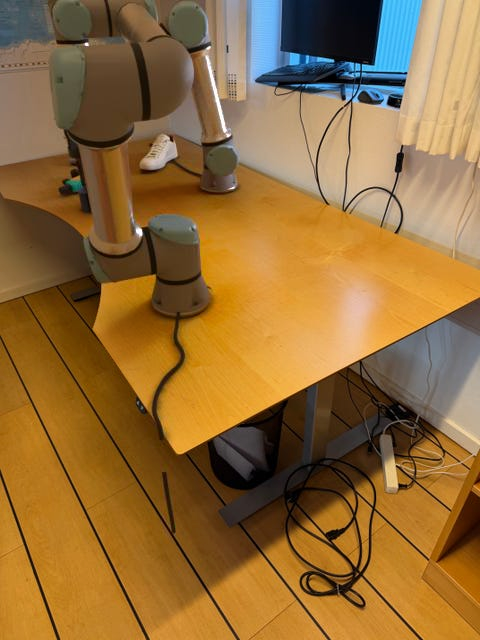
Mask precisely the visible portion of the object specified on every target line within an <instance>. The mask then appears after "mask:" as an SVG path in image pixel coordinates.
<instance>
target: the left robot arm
mask: <svg viewBox="0 0 480 640" xmlns="http://www.w3.org/2000/svg"><path fill="white" fill-rule="evenodd" d="M46 1H47V3H46V4H47V6H48V10H49V15H50V20H51V24H52V28H53V29H52V30H53V32H54V37H55V43H56V48H55V49H53V50H52V51H51V52H50V54H49V57H48V77H49V88H50V93H51V94H50V95H51V103H52V110H53V116H54V117H53V118H54V121H55V125H56V127H57V128H58V129H60V130H63V136H66V137H67V142H68V145H67V147H68V146H69V150H74V149H76V148H78V145H79V150H80V156H81V161H82V166H83V171H84V176H85V181H86V186H87V192H88V197H89V202H90V207H91V212H90V213H91V218H92V223H93V224H92V225H91V227H90V229H89V233H88V235H86V236H85V237H83V240H82V241H83V246H84V251H85V254H86V258H87V261H88V263H89V267H90V270H91V272H92V274H93V276H94V279H95V280H96V281H97V282H98V283H100V284H110V283H112V284H116V283H118V282H124V281H129V280H134V279H139V278H143V277H148V276H153V275H154V276H155V281H154V284H153V290H152V294H151V305H152V308H153V310H154V311H155V312H156V313H157V314H159V315H160V316H163V317H167V318H171V319H175V322H174V329H173V342H174V344H175V345H176V347H177V349H178V351H179V352H180V359H179V360H178V362H177V363H176V365H174V366H173V368H171V369H170V370H169V371H168V372H167V373H166V374H165V375H164V376H163V377H162V379H161V381H160V382H159V384H158V386H157V388H156V390H155V391H154V396H153V399H152V404H151V413H152V416H153V419H154V422H155V424H156V428H157V433H158V439H159V441H163V440H165V435H164V434H165V433H164V430H163V425H162V422H161V420H160V418H159V415H158V411H157V410H158V409H157V408H158V407H157V405H158V400H159V396H160V393H161V391H162V390H163V387H164V386H165V384H166V382H167V380H169V378H170V377H171V376H172V375H173V374H174V373H175V372H176V371H178V370H179V369H180V368H181V366H182V365H183V363H184V362H185V359H186V353H185V350H184V347H182V345H181V343H180V342H179V339H178V331H179V326H180V319H183V318H185V319H186V318H190V317H194V316H196V315H199V314H201V313H202V312H204V311H205V310H207V308H208V307H209V306H210V303H211V294H210V290H211V291H213V289H212V287H211V286H208V285H207V284H206V281H205V278H204V277H203V275H202V262H201V261H202V259H201V247H200V243H201V238H200V234H199V228H198V225H197V224H196V222H195V221H194V220H192V219H191V218H189V217H187V216H184V215H180V214H175V213H162V214H157V215H154V216H152V217H150V218H149V219H148V221H147V225H146V226H141V225H140V224H139V223H138V222H137V221H136V220H135V215H134V204H133V203H134V202H133V194H132V183H131V182H132V181H131V172H130V161H129V150H128V149H129V148H128V143H129V141H130V140H131V139H132V137H133V136H134V133H135V123H138V122H139V123H140V122H147V121H155V120H159V119H162V118H166V117H167V116H169V115H171V114H173V113H174V112H175V111H176V110H178V108H180V107H181V106H182V105H183V104H184V102H185V101H186V99H187V98H188V96H189V95H190V93H191V88H192V84H193V79H194V68H193V62H192V59H191V57H190V55H189V53H188V51H187V50H186V48H185V47H184V46H183V45H182V44H181V42H179V41H178V40H177V39H176V38H174V37H172V36H169V35H167V34H166V33H165V32H164V31H163V29H162V28H161V27H160V26H159V18H158V9H157V6H156V2H155V0H46ZM121 37H122V38H123V40H124V42H125V43H112V44H111V43H110V44H109V43H108V44H91V45H90V40H89V39H100V38H121ZM77 144H78V145H77ZM161 475H162V482H163V483H162V484H163V490H164V496H165V502H166V507H167V512H168V518H169V523H170V530H171V533H172V534H176V532H177V529H176V524H175V518H174V511H173V506H172V501H171V496H170V495H171V494H170V487H169V481H168V473H167V471H161Z"/></svg>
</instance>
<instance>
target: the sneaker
mask: <svg viewBox="0 0 480 640" xmlns="http://www.w3.org/2000/svg"><path fill="white" fill-rule="evenodd" d="M152 144H153V146H152V145H151V148H150V150H149V151H148V153H147V154H146V155H145V156H144V157H143V158H142V159H141V160H140V162H139V169H141V170H144V171H156V170H160V169H162V168H164V167H165V166H166V164H167V163H168V162H170V161H172V159H174V160H175V159H176V158H177V157H178V156H179V155H178V149H177V144H176V140H175V136H174V135H173V134H164V133H161V134H158V135H157V137H156V139H155V140H154V142H153V143H152Z"/></svg>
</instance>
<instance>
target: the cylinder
mask: <svg viewBox="0 0 480 640" xmlns="http://www.w3.org/2000/svg"><path fill="white" fill-rule="evenodd" d="M77 194H78V198H79V202H80V203H79V204H80V207H81V210H82V212H84V213H90V212H89V208H88V203H87V198H86V196H84V194H86V191H85V187H83V188H80V189H79V190H78V191H77Z"/></svg>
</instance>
